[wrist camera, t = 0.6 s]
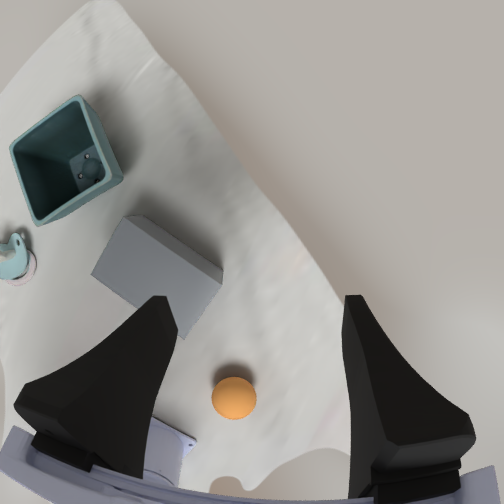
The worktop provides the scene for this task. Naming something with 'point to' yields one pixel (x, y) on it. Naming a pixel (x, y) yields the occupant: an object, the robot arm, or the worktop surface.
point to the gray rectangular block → (158, 270)
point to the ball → (234, 398)
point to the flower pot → (64, 161)
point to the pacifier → (16, 261)
